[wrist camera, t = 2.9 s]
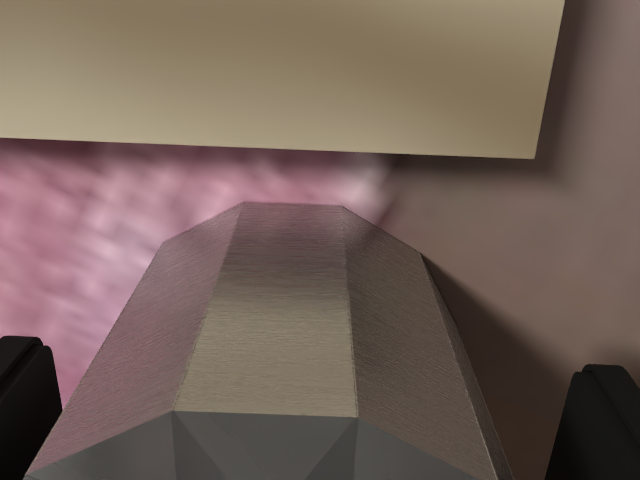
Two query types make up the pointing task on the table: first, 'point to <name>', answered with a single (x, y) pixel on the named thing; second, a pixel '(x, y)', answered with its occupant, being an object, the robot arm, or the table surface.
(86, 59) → the hub board
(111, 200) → the table surface
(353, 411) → the steel collar
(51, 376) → the robot arm
